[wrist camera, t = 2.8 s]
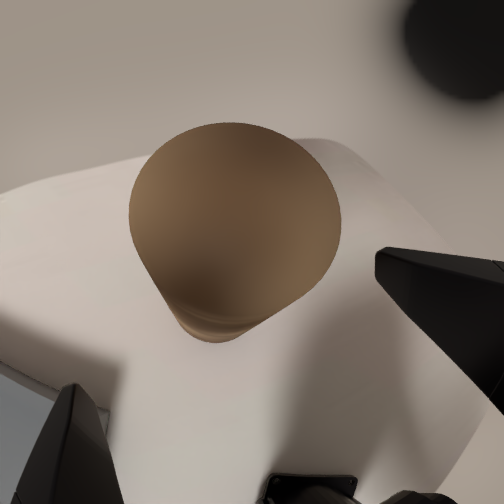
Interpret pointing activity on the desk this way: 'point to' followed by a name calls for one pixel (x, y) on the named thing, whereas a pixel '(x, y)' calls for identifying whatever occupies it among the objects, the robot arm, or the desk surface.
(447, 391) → the desk surface
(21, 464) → the tray
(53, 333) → the desk surface
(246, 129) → the wooden cylinder
